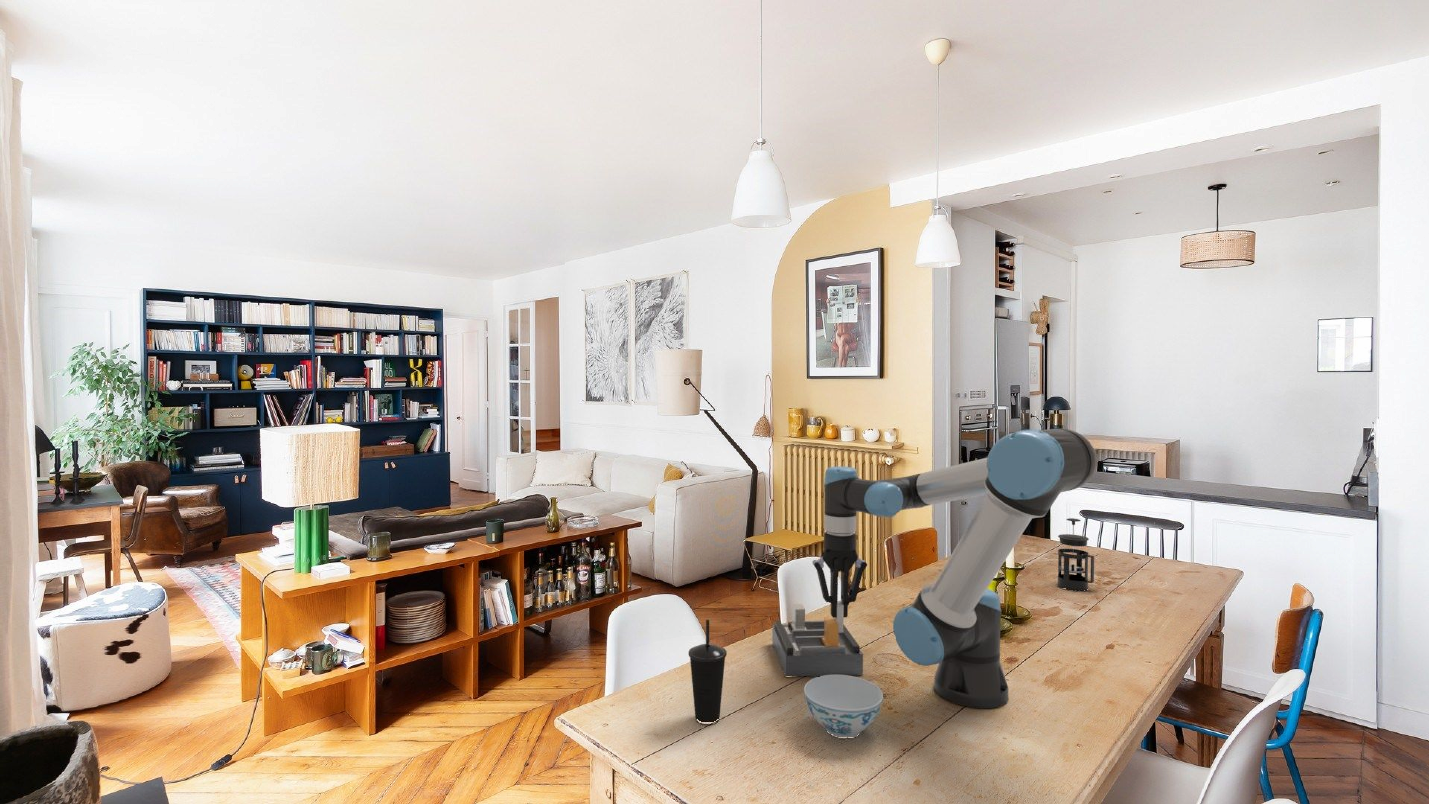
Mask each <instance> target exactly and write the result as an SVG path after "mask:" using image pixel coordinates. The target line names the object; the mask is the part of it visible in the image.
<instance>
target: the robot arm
mask: <svg viewBox="0 0 1429 804" xmlns="http://www.w3.org/2000/svg"><path fill="white" fill-rule="evenodd" d="M1096 468H1097V453H1096V450H1095V448H1094V447H1093V445H1092V443H1091V442H1090V441H1089V440H1088V438H1086V437H1085V436H1084V435H1082V434H1081V433H1079V432H1076V431H1074V430H1072V429H1069V428H1051V429H1050V428H1049V429H1040V430H1039V429H1038V430H1037V429H1023V430H1018V431H1016V432H1012V433H1008V434H1007V435H1004V436H1003V437H1001V438H1000V439H999V440H997V441H996V442H995V443H994V444H993V446H992V448H991V449H990V451H989V453H988V455H987V457H984V458H980V459H977V460H971V461H968V462H963V463H959V464H956V465H955V464H954V465H952V466H947V467H942V468H939V469H934V470H930V471H927V472H926V471H925V472H921V473H917V474H912V475H908V476H902V477H896V478H895V477H894V478H893V477H892V478H888V479H887V478H886V479H885V478H884V479H877V480H876V479H875V480H872V479H863V478H859V476H858V471H857V469H856V468H854V467H851V466H850V467H849V466H830V467H827V469H826V470H825V473H824V483H823V488H824V490H823V491H824V514H823V515H824V521H823V530H824V531H825V532H824V533H823V551H822V553H821V557H820V558H817V560H816V559H815V560H812V565H813V567H814V568H815V570H816V573H817V577H818V581H819V586H820V590H821V594H822V598H823V600H824V601H825V602H826V603H829V604H830V615H831V618H835V620H836V621H837V622H838V633H843V624H844V618H848V614H849V613H848V612H849V609H848V608H849V605H850V603H854V602H856V601H857V596H858V592H859V589H860V586H861V581H862V576H863V573H864V571H865V569H866V568H867V566H868V563H867V562H866V561H865V560H864V559H861V558H859V555H858V552H857V535H856V532H857V512H859V513H862V514H863V513H864V514H867V515H872V516H875V517H878V518H882V517H883V518H894V517H895V516H896V515H897V514H898V513H899V512H900V511H904V510H906V511H907V510H911V509H918V508H919V509H920V508H924V507H928V506H932V505H938V504H942V503H943V504H944V503H948V502H954V501H960V500H965V499H970V498H976V497H981V496H985V498H984V499H983V500H982V503H981V504H980V506H979V507H978V509H977V511H976V513H975V514H974V516H973V517H972V519H971V521H970V523H969V524H968V527H967V528H966V530H965V531H964V533H963V534H962V536H961V538H960V539H959V541H958V543H957V544H956V546H955V548H954V549H953V551H952V553H951V555H950V556H949V557H948V559H947V561H946V563H945V565H944V566H943V568H942V570H941V571H940V573H939V575H938V576H937V578H936V579H935V582H934V583H933V582H932V583H926V584H925V585H924V586H923V587H922V588H921V590H920V591H919V593H918V595H917V597H916V598H915V600H914V601H913V603H912V604H911V605H909V606H904V607H902V608H901V609H899V610H898V612H897V613H896V614H895V616H894V619H893V623H892V627H893V628H892V629H893V634H894V636H895V641H896V643H897V646H898V647H899V649H900V651H901V652H902V654H903V655H905V656H906V658H908V659H909V660H910V661H911V662H913V663H914V664H916V665H919V666H922V667H923V666H924V667H925V666H926V667H928V666H932V665H934V666H935V665H938V666H937V669H936V671H935V675H934V678H933V679H934V680H933V682H934V683H933V687H934V691H935V692H936V693H937V694H938V695H939V696H940V697H941V698H943V699H945V700H946V701H948V702H951V703H953V704H956V705H960V706H964V707H968V708H975V709H993V708H999V707H1001V706H1004V705H1005V704H1007V703H1008V701H1009V685H1008V682H1007V680H1006V675H1005V673H1004V670H1003V667H1002V664H1001V621H1002V620H1001V617H1002V609H1001V599H1000V596H999V594H998V593H997V592H996V591H994V590H991V589H989V586H990V585H991V583H992V581H993V580H994V578H995V577H996V576H997V574H998V573H999V571H1000V569H1001V568H1002V566H1003V565H1004V563H1005V561H1006V560H1007V559H1008V557H1009V555H1010V553H1011V552H1012V550H1013V549H1014V547H1016V545H1017V543H1018V541H1019V539H1021V536H1022V535H1023V533H1024V532H1025V530H1026V529H1027V527H1028V526H1029V524H1030V522H1031V521H1032V519H1036V518H1043V517H1045V516H1046V515H1047V513H1048V512H1049V510H1051V508H1052V507H1053V504H1054V503H1055V501H1056V500H1057V498H1058V497H1059V495H1060V494H1061V493H1063V492H1069V491H1072V490H1075V489H1078V488H1081V487H1082V486H1084V485H1085V484H1086V483H1088V482H1089V481H1090V480H1091V478H1092V477H1093V475H1094V473H1095V471H1096ZM824 563H825V564H826V566H827V568H829V572H830V573H829V574H830V580H829V581H830V583H829V584H830V587H829V588H828V585H827V580H826V576H825V572H824V569H823V568H824V567H825V565H824ZM854 565H855V568H854V572H853V575H852V579H851V583H850V584H849V580H850V578H849V577H850V570H851V569H852V568H853V567H854ZM839 573H840V601H838V599H839V597H838V595H839V593H838V592H839V591H838V590H839V586H838V585H839V584H838V583H839ZM849 586H850V587H849ZM829 589H830V591H829Z"/></svg>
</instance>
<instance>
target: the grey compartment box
mask: <svg viewBox="0 0 1429 804" xmlns="http://www.w3.org/2000/svg"><path fill="white" fill-rule="evenodd" d="M771 628H772V630H771V631H772V634H771V635H772V636H771V637H772V638H771V639H772V642H771V643H772V646H773V649H774V652H775V654H776V657H777V659H778V661H780V662H779V665H780V667H781V670H782V672H783V671H784V672H783V673H785V674H784V676H824V675H848V676H852V675H858V676H864V653H863V652H862V650H860V648H861V646H860V644H859V643H858V642H857V640H856V639H855V638H854V636H853V635H852V634H851V633H850V631H849V630H848V629H847V627H846V626H845V624H844V623H843V633H838V643H839V644H840V645H838V646H825V645H824V643H823V642H822V638H824V620H806V609H805V607H804V605H803V604H802V603H795V604H794V603H792V621H791V620H790V621H789V620H788V621H787V624H782V621H781V620H775V621H774V624H772V627H771Z"/></svg>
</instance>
